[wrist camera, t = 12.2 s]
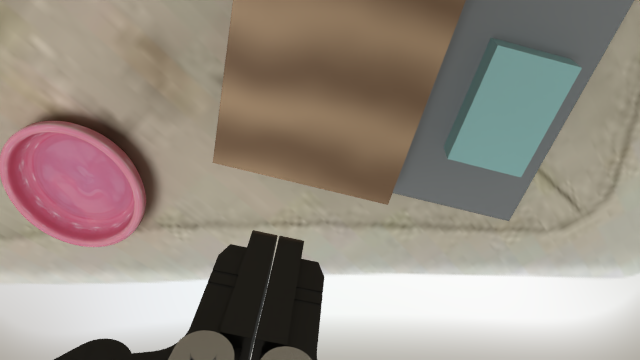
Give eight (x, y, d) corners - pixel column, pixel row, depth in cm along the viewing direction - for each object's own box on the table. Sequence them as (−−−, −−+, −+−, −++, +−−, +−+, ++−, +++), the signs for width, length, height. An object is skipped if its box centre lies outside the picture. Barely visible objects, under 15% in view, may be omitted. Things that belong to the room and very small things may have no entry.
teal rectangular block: (582, 67, 31) (570, 59, 33) (497, 45, 31) (490, 37, 33) (520, 177, 36) (513, 164, 38) (447, 158, 36) (443, 146, 37)
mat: (481, -63, 30) (483, -62, 29) (641, -19, 30) (644, -18, 30) (387, 189, 40) (388, 191, 40) (507, 218, 41) (508, 220, 40)
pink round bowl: (30, 213, 45) (9, 233, 43) (9, 96, 39) (-17, 111, 36) (155, 238, 46) (142, 260, 43) (156, 126, 39) (140, 143, 36)
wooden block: (259, -105, 30) (246, -105, 26) (468, -48, 30) (481, -41, 27) (225, 139, 39) (212, 162, 36) (385, 178, 40) (387, 204, 36)
